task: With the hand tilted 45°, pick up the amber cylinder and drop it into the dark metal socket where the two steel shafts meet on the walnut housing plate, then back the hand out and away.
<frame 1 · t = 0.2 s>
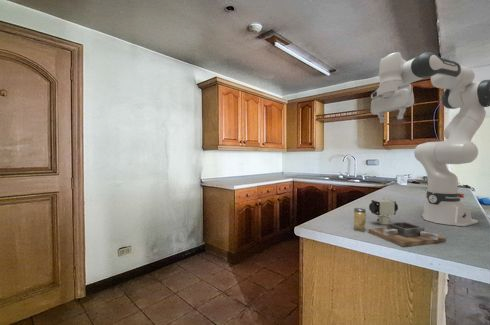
hand: (391, 120, 104), 48 cm above the counter, tool pointing down, fingers open, 8 cm apart
amber cylinder: (359, 229, 100), on the counter
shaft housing: (404, 236, 91), on the counter
pneumatic valve: (382, 223, 109), on the counter
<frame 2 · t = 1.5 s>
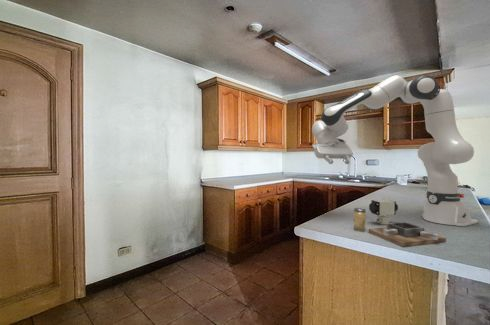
hand: (339, 163, 113), 28 cm above the counter, tool tilted 45°, fingers open, 8 cm apart
nothing on the counter moved.
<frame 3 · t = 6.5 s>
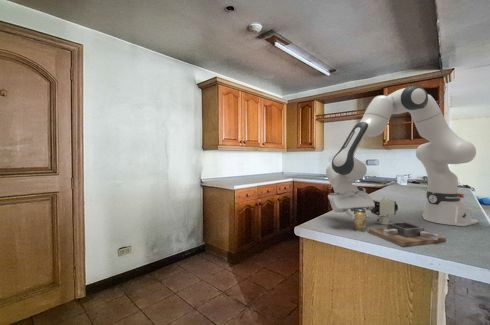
hand: (360, 218, 100), 5 cm above the counter, tool tilted 45°, fingers closed on amber cylinder, 4 cm apart
amber cylinder: (359, 229, 100), on the counter, touching gripper
everything else where it was.
when the fingers open (8 cm above the counter, at t = 11.6 s): amber cylinder drops 1 cm, resting on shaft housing.
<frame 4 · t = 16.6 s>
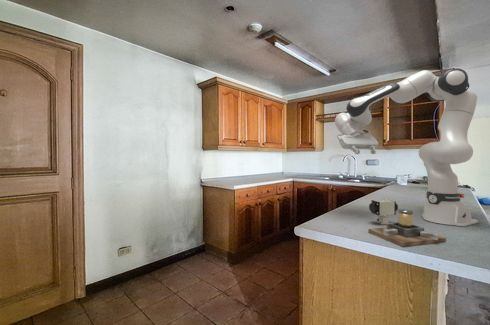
hand: (366, 153, 115), 33 cm above the counter, tool tilted 45°, fingers open, 8 cm apart
amber cylinder: (405, 233, 91), point 1 cm above the counter, touching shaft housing
everything else where it was.
at the end: amber cylinder 0.1 cm off-centre on the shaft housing, point 1.5 cm above the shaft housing's base; amber cylinder tilted 0°; the gripper is holding nothing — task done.
